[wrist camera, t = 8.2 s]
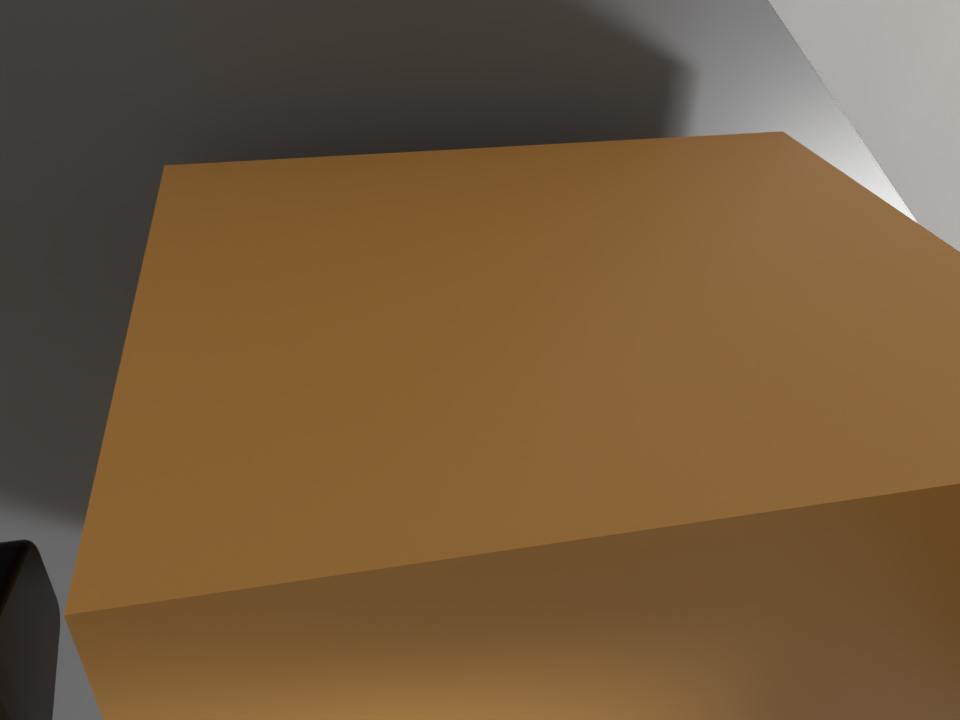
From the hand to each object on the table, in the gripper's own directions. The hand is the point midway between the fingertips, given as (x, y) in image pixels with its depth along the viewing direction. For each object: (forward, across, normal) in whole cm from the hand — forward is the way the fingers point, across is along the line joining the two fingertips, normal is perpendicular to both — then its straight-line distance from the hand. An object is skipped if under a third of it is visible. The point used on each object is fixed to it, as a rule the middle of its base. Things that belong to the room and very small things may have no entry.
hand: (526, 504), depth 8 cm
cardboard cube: (+2, 0, 0) cm, 2 cm away
